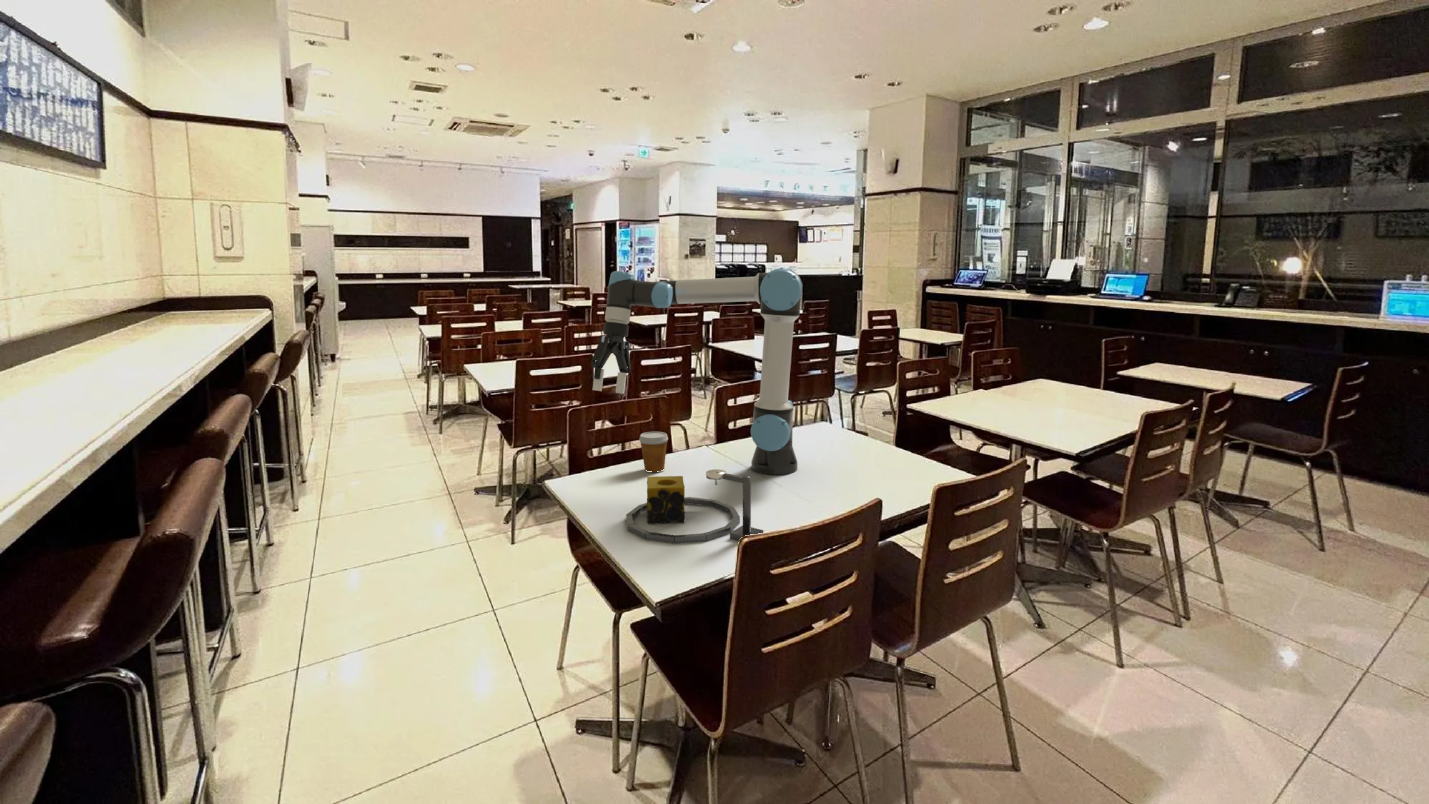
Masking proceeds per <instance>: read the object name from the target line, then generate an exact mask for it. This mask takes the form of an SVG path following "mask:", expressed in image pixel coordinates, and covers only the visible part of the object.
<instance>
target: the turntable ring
mask: <svg viewBox="0 0 1429 804" xmlns="http://www.w3.org/2000/svg"><path fill="white" fill-rule="evenodd" d="M684 501H685V502H684V505H697V506H704V507H713V508H714V509H717V510H720V511H722V512H724V513H728V514H729V516H730V518H731V519H730V521H729V522H728V523H726V525H725V526H721V527H718V528H715V529H712V530H710V531H706V532H704V533H703V532H702V533H701V532H700V533H699V532H698V533H689V534H687V533H686V534H676V535H675V534H668V533H667V534H666V533H660V532H653V531H648V530H646V529H644V528H643V527H640V526H639V525H637V524H634V519H635V518H637V517H638V516H639V515H641V514H642V513H644V512H647V502H646V503H641V504H638V505H637V506H636V507H634V508H633V509H632V510H630V511H629V512H627V513H626V514H625V522H626V527H627V531H628V532H629V533H632V534H634V535H636V536H638V537H639V538H642V539H644V540H646V541H652V542H660V543H667V544H687V543H701V542H708V541H711V540H715V539H717V538H720V537H723V536H727V535H730V532H732V531H734V530H736V529H737V526H738V525H740V523H741V516H740V515H739V513H738V511H737V509H736V508H735V507H734V506H732V505H730V504H728V503H725V502H722V501H720V500H717V499H713V498H711V499H710V498H701V497H693V496H686V497H685V498H684Z"/></svg>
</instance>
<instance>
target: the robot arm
mask: <svg viewBox="0 0 1429 804" xmlns="http://www.w3.org/2000/svg"><path fill="white" fill-rule="evenodd" d="M607 289H608V290H607V297H606V298H607V299H606V307H605V308H606V309H605V312H604V314H605V316H604V320H605V322H604V324H603V332H602V334H604V335H600V336H599V341H598V344H597V346H596V348H595V350H594V353H593V356H592V359H591V361H590V365H591V368H593V369H594V371H593V372H594V373H593V380H592V381H593V382H592V383H593V384H592V391H598V392H602V391H603V390H602V389H603V383H604V375H605V373H604V372H605V369H604V366H605V365H606V362H608V360H609V357H611V354H613V356H615V360H616V364H617V367H618V370H619V371H618V372H617V375H616V377H617V378H616V386H615V393H616V394H621V395H622V394H623V395H624V394H625V390H626V381H627V374H631V371H632V365H631V364H632V363H631V357H630V347H629V346H630V341H625V340H624V339H625V338H627V337H628V336H629V328H630V326H629V325H628V324H630V320H631V311H632V306H640V307H642V306H643V307H648V308H649V307H651V308H656V309H667V308H670V306H671V305H682V304H683V305H684V304H686V305H687V304H710V303H711V304H713V303H715V304H716V303H736V302H737V303H738V302H740V303H741V302H757V303H758V304H759V305H760V312H759V314H760V315H761V317H762V318H763V319H764V328H763V329H764V330H763V346H762V357H761V360H762V361H761V371H760V386H759V398H758V399H757V401H755V402H754V404H753V414H752V415H753V416H752V424H751V426H750V427H751V428H750V435H751V438H752V441H753V443H754V444H755V446H756V447H755V450H754V453H753V456H752V458H751V465H750V467H751V470H752V471H754V472H756V473H759V474H764V475H788V474H791V473H794V472H796V471H797V470H798V459H797V457H796V453H795V450H794V447H793V429H794V428H793V423H794V417H793V414H794V412H793V411H794V403H793V402H792V400H789V391H790V379H791V378H790V374H791V365H792V353H793V352H792V351H793V339H794V337H793V336H794V324H795V321H796V320H797V319H798V318H799V317H800V314H801V302H802V301H801V300H802V294H803V289H804V288H803V282H802V279H801V277H800V275H798V273H796V272H795V271H794V270H792V269H789V268H784V267H782V268H775V269H773V270H770V271H769V272H768V271H767V272H758V273H757V274H756V275H755V276H743V277H742V276H741V277H724V278H723V277H721V278H718V277H717V278H700V279H699V278H698V279H682V280H681V279H677V280H657V281H645V280H636V279H635V274H634V273H631V272H628V271H623V270H622V271H621V270H615V271H612V272H611V273H610V277H609V281H608V285H607Z"/></svg>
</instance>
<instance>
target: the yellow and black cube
mask: <svg viewBox="0 0 1429 804" xmlns="http://www.w3.org/2000/svg"><path fill="white" fill-rule="evenodd" d="M646 485H647V486H646V487H647V489H646V495H647V496H646V497H647V498H646V503H647V511H646V519H647V522H646V523H647V524H648V525H661V524H663V525H664V524H681V523H682V524H684V523H685V522H686V510H685V508H686V507H685V504H684V502H685V501H684V498H685V486H686V485H685V483H684V476H683V475H667V476H666V475H665V476H659V475H658V476H647V479H646Z"/></svg>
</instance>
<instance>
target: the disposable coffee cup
mask: <svg viewBox="0 0 1429 804" xmlns="http://www.w3.org/2000/svg"><path fill="white" fill-rule="evenodd" d="M638 440H639V442H640V446H641V454H642V459H643V466H644V470H645V469H646V470H647V471H652V472H657V471H661V470H663V469H664V470H665V464H666V456H667V455H666V454H667V445H668V440H669V437H668V434H667V433H666V432H662V431H647V432H642V433H640V436H639V438H638Z"/></svg>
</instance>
